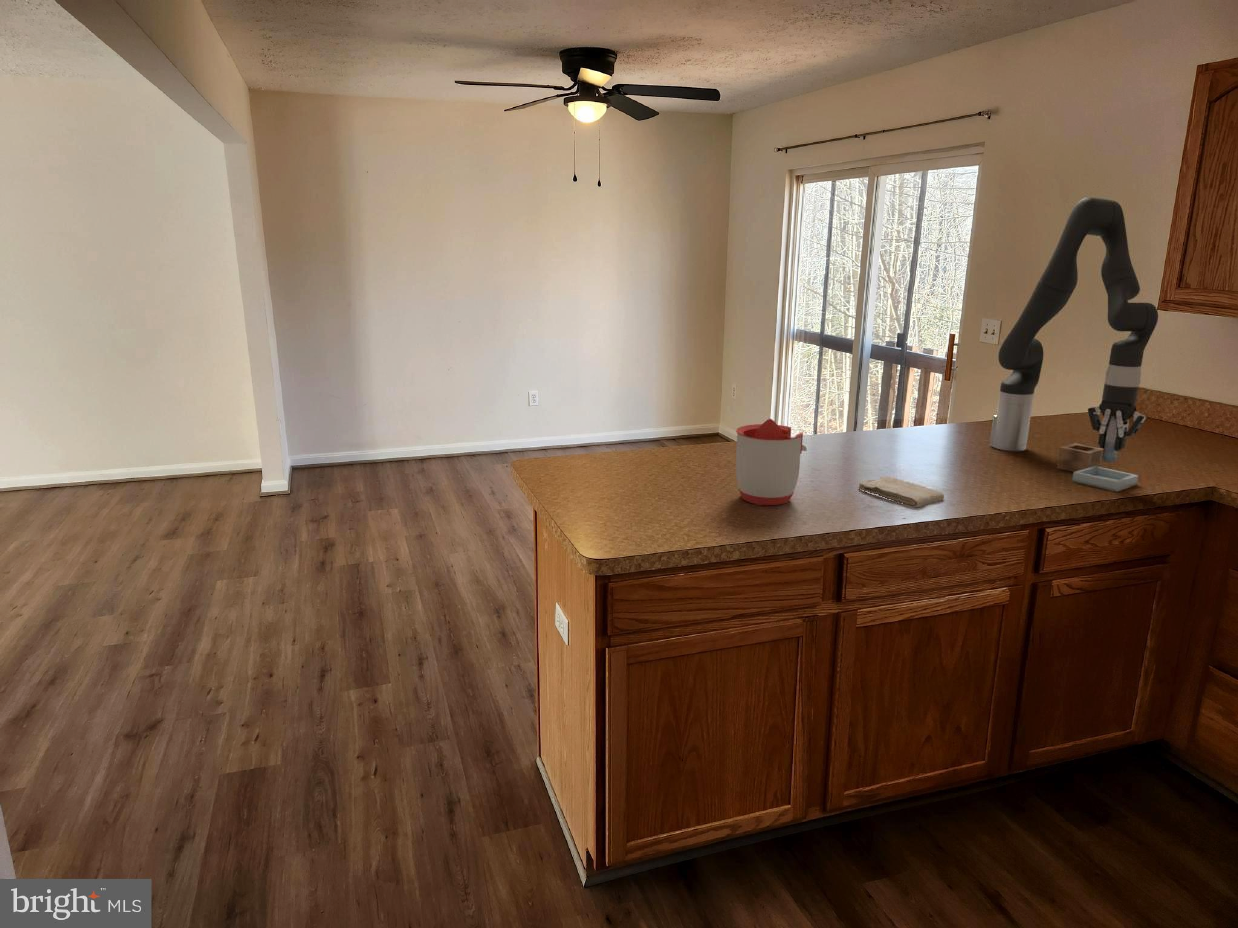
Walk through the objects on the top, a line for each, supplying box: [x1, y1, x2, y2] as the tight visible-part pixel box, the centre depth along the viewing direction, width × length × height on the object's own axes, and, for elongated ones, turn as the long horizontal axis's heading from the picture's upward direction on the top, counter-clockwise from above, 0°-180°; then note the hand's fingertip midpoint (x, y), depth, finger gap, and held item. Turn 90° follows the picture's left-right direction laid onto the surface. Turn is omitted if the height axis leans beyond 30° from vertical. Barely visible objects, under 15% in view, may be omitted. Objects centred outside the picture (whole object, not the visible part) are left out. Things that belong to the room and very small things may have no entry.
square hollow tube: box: [1056, 443, 1103, 473], centre depth 223 cm, size 8×8×6 cm
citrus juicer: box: [735, 418, 807, 506], centre depth 194 cm, size 16×17×20 cm
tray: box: [1071, 466, 1139, 493], centre depth 211 cm, size 11×11×2 cm
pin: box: [1102, 415, 1119, 463], centre depth 208 cm, size 3×3×12 cm
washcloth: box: [857, 476, 945, 508], centre depth 200 cm, size 12×18×3 cm, turn 36°
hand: (1110, 449), depth 209 cm, fingers closed on pin, 3 cm apart
